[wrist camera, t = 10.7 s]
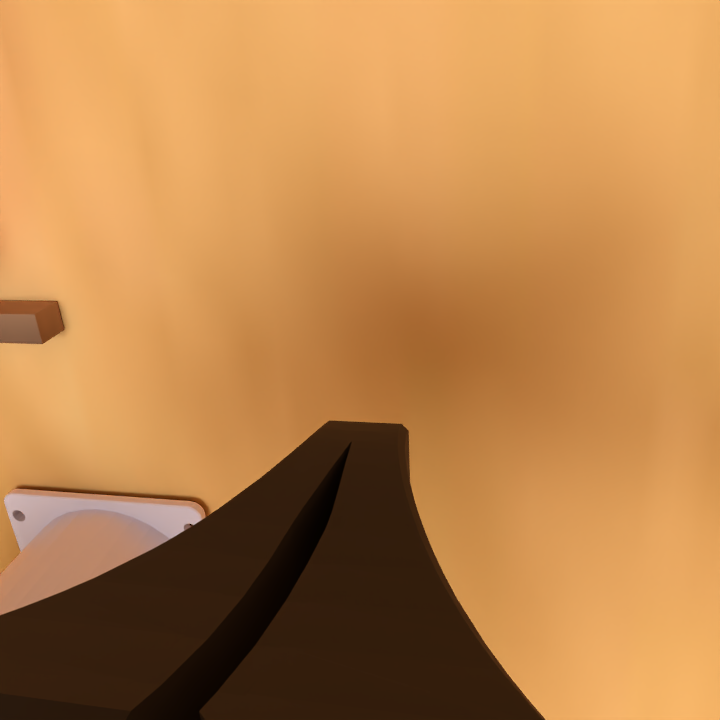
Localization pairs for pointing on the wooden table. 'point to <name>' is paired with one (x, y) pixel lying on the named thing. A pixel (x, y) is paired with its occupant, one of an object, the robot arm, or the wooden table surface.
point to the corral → (29, 321)
